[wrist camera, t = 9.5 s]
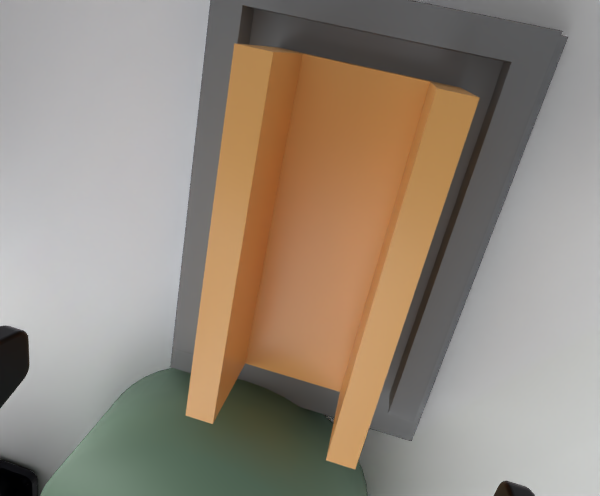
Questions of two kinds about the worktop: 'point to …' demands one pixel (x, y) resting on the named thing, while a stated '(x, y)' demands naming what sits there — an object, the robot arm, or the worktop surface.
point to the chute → (321, 226)
